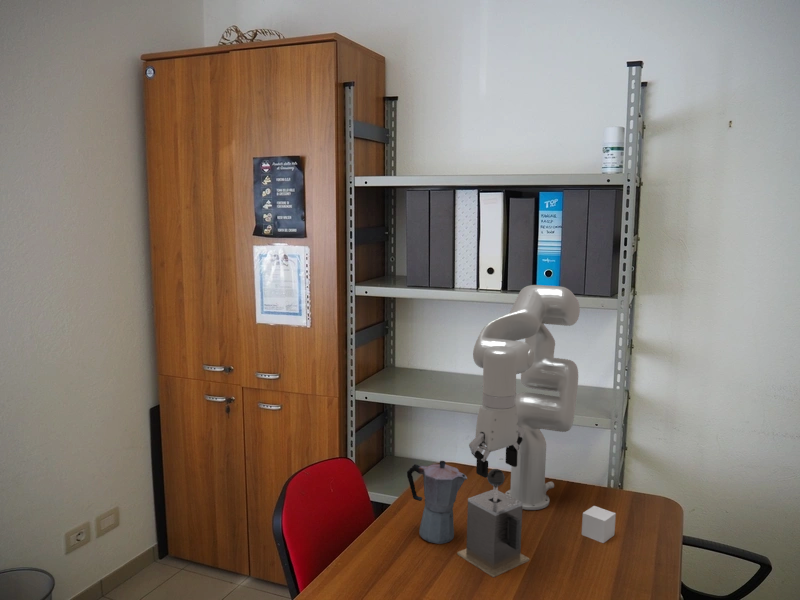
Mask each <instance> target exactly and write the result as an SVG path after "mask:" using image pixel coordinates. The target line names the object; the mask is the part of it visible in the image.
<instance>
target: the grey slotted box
mask: <svg viewBox="0 0 800 600" xmlns="http://www.w3.org/2000/svg"><path fill="white" fill-rule="evenodd" d="M522 505H523V502H521V501H519V500H517V499H515V498H513V497H511V496H509V495H507V494H505V493H504V492H502V491H500V490H498V495H497V503H493V489H490V490H488V491H485V492H482V493H479V494H476V495H474V496H471V497H468V498H467V517H466V522H467V524H466V548H465V549H461V550H459V551H457V553H456V554H457V556H459V557H461V558H462V559H464V560H465V561H467V562H468V563H470V564H471V565H473V566H475V567H476V568H478V569H479V570H480V571H483V572H484V573H486V574H487V575H489V576H490V577H492V578H496V577H497V576H500V575H502V574H504V573H506V572H509V571H511V570H513V569H514V568H517V567H519V566H520V565H523V564H525V563H528V562H529V561H530V557H528V556H526V555H524V554H522V553H521V551H522V550H521V548H522V524H523V509H522Z"/></svg>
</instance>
